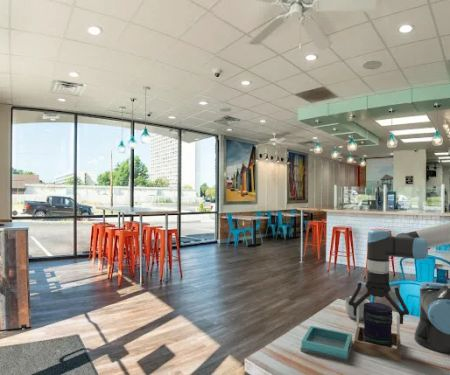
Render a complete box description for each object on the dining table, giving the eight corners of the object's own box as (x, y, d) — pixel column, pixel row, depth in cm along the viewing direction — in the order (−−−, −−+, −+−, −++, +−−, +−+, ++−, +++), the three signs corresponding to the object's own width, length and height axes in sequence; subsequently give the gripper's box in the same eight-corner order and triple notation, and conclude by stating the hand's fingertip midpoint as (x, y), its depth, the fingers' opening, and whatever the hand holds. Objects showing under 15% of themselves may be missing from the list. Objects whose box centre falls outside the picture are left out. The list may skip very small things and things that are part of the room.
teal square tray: (352, 343, 120) (352, 333, 120) (348, 362, 106) (348, 351, 106) (310, 334, 127) (310, 325, 127) (300, 350, 113) (300, 341, 113)
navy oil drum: (363, 350, 115) (363, 308, 115) (362, 339, 124) (362, 300, 124) (394, 355, 111) (394, 313, 111) (391, 344, 120) (391, 304, 120)
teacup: (372, 323, 140) (372, 305, 140) (346, 320, 142) (347, 302, 142) (365, 312, 154) (365, 295, 154) (341, 309, 156) (342, 293, 156)
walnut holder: (399, 343, 121) (399, 334, 121) (401, 361, 107) (401, 350, 107) (357, 334, 127) (357, 326, 127) (354, 350, 114) (354, 340, 114)
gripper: (415, 273, 116) (415, 331, 115) (343, 265, 127) (343, 318, 127) (417, 278, 109) (417, 340, 108) (341, 269, 120) (340, 324, 120)
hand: (377, 328), depth 117 cm, fingers open, 13 cm apart
